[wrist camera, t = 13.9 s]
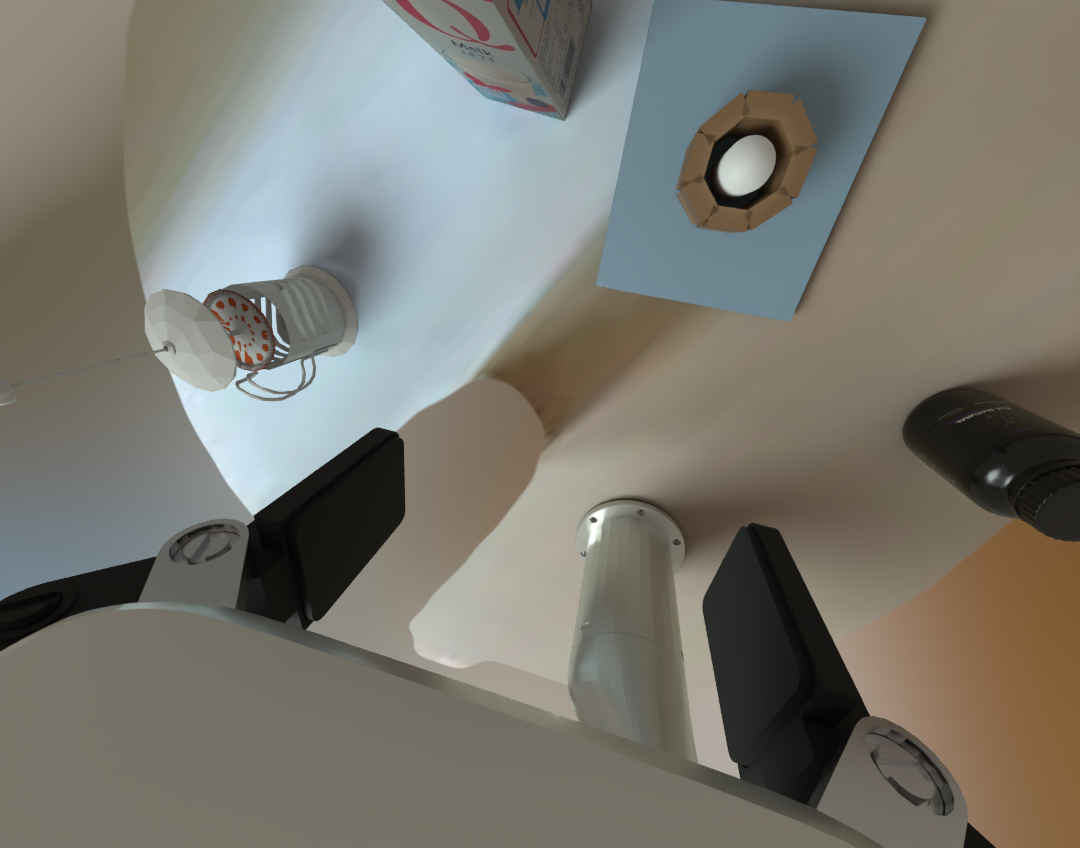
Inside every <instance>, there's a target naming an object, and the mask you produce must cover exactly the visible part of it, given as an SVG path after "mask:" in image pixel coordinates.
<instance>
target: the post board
mask: <svg viewBox="0 0 1080 848" xmlns="http://www.w3.org/2000/svg"><path fill="white" fill-rule="evenodd" d="M926 19H927V18H925V17H913V16H901V15H889V14H877V13H865V12H853V11H840V10H828V9H816V8H804V7H792V6H780V5H768V4H756V3H743V2H731V1H719V0H654V5H653V10H652V15H651V19H650V24H649V29H648V34H647V39H646V44H645V49H644V54H643V58H642V63H641V68H640V73H639V78H638V83H637V88H636V92H635V97H634V102H633V107H632V112H631V117H630V122H629V127H628V131H627V136H626V141H625V146H624V151H623V156H622V161H621V165H620V170H619V175H618V180H617V185H616V190H615V195H614V200H613V204H612V209H611V214H610V219H609V224H608V229H607V234H606V238H605V243H604V248H603V253H602V258H601V263H600V268H599V273H598V277H597V282H596V286H600V287H605V288H611V289H616V290H621V291H627V292H632V293H637V294H643V295H648V296H654V297H659V298H664V299H670V300H675V301H681V302H686V303H691V304H697V305H702V306H707V307H713V308H718V309H724V310H729V311H734V312H740V313H745V314H750V315H756V316H761V317H767V318H772V319H777V320H783V321H788V322H790V320H791V318H792V316H793V314H794V312H795V309H796V307H797V305H798V303H799V300H800V298H801V296H802V294H803V292H804V289H805V287H806V285H807V283H808V281H809V278H810V276H811V274H812V272H813V269H814V267H815V265H816V263H817V261H818V258H819V256H820V254H821V252H822V250H823V247H824V245H825V243H826V241H827V238H828V236H829V234H830V232H831V230H832V227H833V225H834V223H835V221H836V219H837V216H838V214H839V212H840V210H841V207H842V205H843V203H844V201H845V199H846V196H847V194H848V192H849V190H850V188H851V185H852V183H853V181H854V179H855V176H856V174H857V172H858V170H859V168H860V165H861V163H862V161H863V159H864V157H865V154H866V152H867V150H868V148H869V145H870V143H871V141H872V139H873V137H874V134H875V132H876V130H877V128H878V126H879V123H880V121H881V119H882V117H883V114H884V112H885V110H886V108H887V106H888V103H889V101H890V99H891V97H892V95H893V92H894V90H895V88H896V86H897V83H898V81H899V79H900V77H901V75H902V72H903V70H904V68H905V66H906V64H907V61H908V59H909V57H910V55H911V52H912V50H913V48H914V46H915V44H916V41H917V39H918V37H919V35H920V33H921V30H922V28H923V26H924V24H925V21H926ZM748 90H756V91H765V92H774V93H784V94H793V95H794V98H793V101H792V104H794V103H795V102H796V101H797V100H799V99H800V100H801V102H802V105H803V107H804V109H805V112H806V114H807V116H808V119H809V121H810V123H811V126H812V128H813V130H814V133H815V135H816V137H817V140H818V141H817V142H815V143H814V144H813V145H811V146H810V147H812V148H818V149H817V151H816V154H815V156H814V159H813V161H812V164H811V166H810V169H809V171H808V174H807V176H806V179H805V181H804V184H803V186H802V189H801V191H800V194H799V196H798V197H797V198H793V199H791V200H792V202H793V204H791V205H790V206H788V207H787V208H785V209H784V210H782V211H781V212H779V213H778V214H776V215H775V216H773V217H772V218H770V219H768V220H767V221H765V222H764V223H762V224H761V225H759V226H758V227H756V228H755V229H753V230H749V231H746V232H736V233H726V232H720V231H713V230H707V229H701V228H696V226H697V224H694V225H692V224H691V222H690V220H689V218H688V216H687V215H686V213H685V211H684V209H683V207H682V205H681V203H680V202H679V200H678V198H677V196H676V195H677V194H678V193H679V192H680V190H676V186H677V183H678V179H679V175H680V172H681V168H682V164H683V160H684V157H685V153H686V149H687V148H688V146H689V144H690V142H691V141H692V139H693V137H694V135H695V134H696V133H697V131H698V129H699V127H700V126H701V125H702V124H703V123H705V122H706V121H707V120H708V119H710V118H711V117H712V116H713V115H715V114H716V113H717V112H718V111H719V110H721V109H722V108H723V107H724V106H726V105H727V104H728V103H729V102H730V101H732V100H733V99H734V98H735V97H737V96H738V95H739V94H740V93H741V92H742V94H743V96H745V94H746V93H747V92H748ZM792 104H791V105H792ZM775 161H776V153H775V149H774V146H773V144H772V143H771V142H770V141H769V140H768V139H767V138H765V137H763V136H760V135H751V136H747V137H744V138H735V137H727V138H725V139H724V140H723V141H722V142H720V143H719V144H718V145H716V146H715V147H714V148H713V149H712V151H711V155H710V158H709V161H708V165H707V168H706V172H705V175H704V180H705V182H706V184H707V186H708V188H709V190H710V192H711V193H712V195H713V197H714V199H715V201H716V203H717V205H718V206H724V207H730V208H737V209H740V208H741V207H743V206H744V205H746V204H747V203H749V202H750V201H752V200H753V199H755V198H756V197H757V195H758V192H759V190H760V187H761V186H762V185H763V184H764V183H765V182H766V181H767V180H768V178H769V177H770V175H771V174H772V171H773V169H774V166H775Z"/></svg>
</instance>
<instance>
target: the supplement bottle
mask: <svg viewBox="0 0 1080 848" xmlns="http://www.w3.org/2000/svg"><path fill="white" fill-rule="evenodd" d="M903 439H904V442H905V444H906V446H907V447H908V448H909V450H910V451H911V452H913V453H914V454H915V455H916V456H917V457H918V458H919V459H921V460H922V461H923V462H924V463H926V464H927V465H928V466H929V467H931V468H932V469H933V470H934V471H936V472H937V473H938V474H939V475H940V476H942V477H943V478H944V479H945V480H947V481H948V482H949V483H950V484H952V485H953V486H954V487H955V488H957V489H958V490H959V491H960V492H961V493H963V494H964V495H965V496H966V497H968V498H969V499H970V500H971V501H973V502H974V503H975V504H977V505H978V506H980V507H981V508H983V509H984V510H986V511H989V512H991V513H993V514H997V515H1000V516H1004V517H1009V518H1016V519H1021V520H1022V521H1024V522H1026V523H1028V524H1030V525H1031V526H1032V527H1034V528H1035V529H1036V530H1038V531H1039V532H1041V533H1043V534H1044V535H1046V536H1048V537H1052V538H1054V539H1057V540H1063V541H1073V542H1077V541H1080V434H1078V433H1076V432H1074V431H1072V430H1070V429H1067V428H1065V427H1063V426H1061V425H1059V424H1056V423H1054V422H1052V421H1050V420H1048V419H1046V418H1043V417H1041V416H1039V415H1037V414H1035V413H1032V412H1030V411H1028V410H1026V409H1024V408H1021V407H1019V406H1017V405H1015V404H1013V403H1011V402H1008V401H1006V400H1004V399H1002V398H999V397H997V396H995V395H992V394H990V393H987V392H984V391H980V390H973V389H959V390H952V391H948V392H944V393H941V394H938V395H935V396H933V397H931V398H929V399H927V400H926V401H924V402H922V403H921V404H920V405H918V406H917V407H916V408H915V409H914V410H913V411H912V412H911V413H910V415H909V416H908V418H907V419H906V421H905V424H904V427H903Z"/></svg>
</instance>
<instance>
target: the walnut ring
mask: <svg viewBox="0 0 1080 848" xmlns="http://www.w3.org/2000/svg"><path fill="white" fill-rule="evenodd" d="M793 98H794V95H793V94H784V93H774V92H765V91H756V90H748V92H747V93H746V94H745V96H743V94H742V92H741V93H740V94H739V95H738V96H737V97H735V98H734V99H733V100H732V101H730V102H729V103H728V104H727V105H726V106H724V107H723V108H722V109H721V110H719V111H718V112H717V113H716V114H715V115H713V116H712V117H711V118H710V119H708V120H707V121H706V122H705V123H703V124H702V125H701V126H700V127H699V129H698V131H697V133H696V134H695V135H694V137H693V139H692V141H691V142H690V144H689V146H688V148H687V149H686V153H685V157H684V160H683V164H682V168H681V172H680V175H679V179H678V183H677V186H676V190H680V192H679V193H678V194H677V195H676V196H677V198H678V200H679V202H680V203H681V205H682V207H683V209H684V211H685V213H686V215H687V216H688V218H689V220H690V222H691V224H692V225H694V224H697V226H696V228H701V229H707V230H713V231H720V232H726V233H736V232H746V231H749V230H753V229H755V228H756V227H758V226H759V225H761V224H762V223H764V222H765V221H767V220H768V219H770V218H772V217H773V216H775V215H776V214H778V213H779V212H781V211H782V210H784V209H785V208H787V207H788V206H790V205H791V204H793V202H792V200H791V199H793V198H797V197H798V196H799V194H800V191H801V189H802V186H803V184H804V181H805V179H806V176H807V174H808V171H809V169H810V166H811V164H812V161H813V159H814V156H815V154H816V151H817V149H818V148H812V147H810V146H811V145H813V144H814V143H815V142H817V141H818V140H817V137H816V135H815V133H814V130H813V128H812V126H811V123H810V121H809V119H808V116H807V114H806V112H805V109H804V107H803V105H802V102H801V100H800V99H799V100H797V101H796V102H795V103H794V104H792V101H793ZM791 104H792V105H791ZM751 135H760V136H763V137H765V138H767V139H768V140H769V141H770V142H771V143H772V144H773V146H774V149H775V153H776V161H775V166H774V169H773V171H772V174H771V175H770V177H769V178H768V180H767V181H766V182H765V183H764V184H763V185H762V186H761V187H760V190H759V192H758V195H757V197H756V198H755V199H753V200H752V201H750V202H749V203H747V204H746V205H744V206H743V207H741V208H740V209H737V208H730V207H724V206H718V205H717V203H716V201H715V199H714V197H713V195H712V193H711V192H710V190H709V188H708V186H707V184H706V182H705V180H704V175H705V172H706V168H707V165H708V161H709V158H710V155H711V151H712V149H713V148H714V147H715V146H716V145H718V144H719V143H720V142H722V141H723V140H724V139H725V138H727V137H735V138H744V137H747V136H751Z"/></svg>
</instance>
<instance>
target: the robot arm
mask: <svg viewBox="0 0 1080 848" xmlns="http://www.w3.org/2000/svg"><path fill="white" fill-rule="evenodd" d="M404 480H405V478H404V442H403V440H402V439H401V438H399V435H398V433H397V432H394V431H390V430H386V429H382V428H375V429H373V430H371V431H370V432H369V433H367V434H366V435H365V436H363V437H362V438H360V439H359V440H358V441H356V442H355V443H354V444H352V445H351V446H349V447H348V448H347V449H345V450H344V451H342V452H341V453H340V454H338V455H337V456H336V457H334V458H333V459H331V460H330V461H329V462H327V463H326V464H325V465H323V466H322V467H320V468H319V469H318V470H316V471H315V472H313V473H312V474H311V475H309V476H308V477H307V478H305V479H304V480H302V481H301V482H300V483H298V484H297V485H296V486H294V487H293V488H291V489H290V490H289V491H287V492H286V493H284V494H283V495H282V496H280V497H279V498H278V499H276V500H275V501H273V502H272V503H271V504H269V505H268V506H267V507H265V508H264V509H262V510H261V511H260V512H258V513H257V514H255V515H254V519H255V520H254V521H253V522H252V523H250V524H249V525H247V526H246V525H245V524H244V523H242V522H240V521H237V520H233V519H216V520H210V521H206V522H202V523H198V524H196V525H193V526H191V527H189V528H186V529H184V530H182V531H181V532H179V533H177V534H176V535H174V536H173V537H172V538H170V539H169V540H168V541H167V542H166V543H165V544H164V545H163V547H162V548H161V550H160V551H159V553H158V555H157V557H152V558H148V559H144V560H140V561H135V562H131V563H127V564H123V565H118V566H114V567H110V568H106V569H102V570H97V571H93V572H89V573H84V574H80V575H76V576H72V577H68V578H64V579H59V580H55V581H51V582H46V583H43V584H40V585H36V586H33V587H30V588H27V589H25V590H23V591H20V592H18V593H15V594H13V595H11V596H8V597H7V598H5V599H3V600H1V601H0V848H996V847H994V846H993V845H992V844H991V843H990V842H989V841H988V840H987V839H986V838H984V836H982V835H981V834H980V833H979V832H978V831H977V830H976V829H975V828H974V827H972V826H971V825H970V824H969V823H968V813H967V804H966V801H965V799H964V796H963V794H962V792H961V789H960V787H959V785H958V784H957V782H956V781H955V779H954V778H953V776H952V775H951V773H950V772H949V770H948V769H947V768H946V766H945V765H944V764H943V763H942V762H941V761H940V760H939V759H938V757H937V756H936V755H935V754H934V753H933V752H932V751H931V750H930V749H929V748H928V747H927V746H925V744H923V743H922V742H921V741H920V740H919V739H918V738H917V737H915V736H914V735H912V734H911V733H909V732H908V731H907V730H905V729H904V728H902V727H901V726H899V725H897V724H895V723H893V722H891V721H888V720H886V719H883V718H878V717H874V716H870V715H869V713H868V711H867V709H866V707H865V705H864V703H863V701H862V699H861V696H860V694H859V692H858V690H857V688H856V686H855V684H854V682H853V680H852V678H851V676H850V674H849V672H848V670H847V668H846V666H845V664H844V662H843V660H842V658H841V656H840V654H839V652H838V650H837V648H836V646H835V643H834V641H833V639H832V637H831V635H830V633H829V631H828V629H827V627H826V625H825V623H824V621H823V619H822V617H821V615H820V613H819V611H818V609H817V607H816V605H815V603H814V601H813V599H812V597H811V595H810V593H809V591H808V589H807V587H806V585H805V583H804V581H803V579H802V576H801V574H800V572H799V570H798V568H797V566H796V564H795V562H794V560H793V558H792V556H791V554H790V552H789V550H788V548H787V546H786V544H785V542H784V540H783V538H782V536H781V534H780V532H779V531H778V530H777V529H775V528H771V527H767V526H763V525H759V524H755V523H751V524H749V525H748V527H741V528H740V529H739V531H738V533H737V535H736V537H735V538H734V540H733V542H732V544H731V546H730V548H729V550H728V552H727V554H726V556H725V558H724V559H723V561H722V563H721V565H720V567H719V569H718V571H717V573H716V575H715V577H714V579H713V581H712V582H711V584H710V586H709V588H708V590H707V592H706V594H705V596H704V599H703V614H704V620H705V625H706V631H707V637H708V642H709V648H710V653H711V659H712V664H713V670H714V675H715V681H716V686H717V692H718V697H719V703H720V708H721V714H722V719H723V724H724V730H725V735H726V741H727V746H728V751H729V755H730V758H731V760H732V761H733V762H736V763H738V769H739V774H740V779H738V778H736V777H733V776H730V775H728V774H725V773H722V772H719V771H717V770H714V769H711V768H708V767H705V766H703V765H700V764H698V760H697V755H696V749H695V743H694V737H693V732H692V724H691V717H690V710H689V702H688V694H687V685H686V677H685V669H684V659H683V651H682V642H681V634H680V625H679V617H678V608H677V599H676V590H675V581H674V573H675V572H676V571H677V570H678V569H679V568H680V566H681V564H682V563H683V559H684V556H685V543H684V538H683V535H682V532H681V530H680V528H679V527H678V525H677V524H676V522H675V521H674V520H673V519H672V518H671V517H670V516H669V515H668V514H666V513H665V512H663V511H662V510H661V509H659V508H656V507H654V506H652V505H650V504H646V503H643V502H639V501H632V500H617V501H611V502H607V503H604V504H601V505H599V506H597V507H595V508H593V509H592V510H590V511H589V512H588V513H587V514H586V515H585V516H584V517H583V519H582V520H581V522H580V524H579V526H578V529H577V534H576V548H577V552H578V554H579V556H580V558H581V560H582V562H583V563H584V564H585V566H584V573H583V579H582V586H581V592H580V598H579V605H578V611H577V618H576V624H575V631H574V637H573V643H572V650H571V656H570V662H569V669H568V689H569V695H570V700H571V703H572V706H573V709H574V712H575V714H576V716H577V718H578V721H579V722H577V721H574V720H572V719H569V718H566V717H563V716H560V715H557V714H554V713H551V712H548V711H545V710H542V709H539V708H536V707H534V706H531V705H528V704H525V703H522V702H519V701H516V700H513V699H510V698H507V697H504V696H501V695H499V694H496V693H493V692H490V691H487V690H484V689H481V688H477V687H475V686H472V685H469V684H466V683H463V682H460V681H457V680H454V679H451V678H448V677H446V676H442V675H440V674H436V673H434V672H431V671H428V670H425V669H422V668H419V667H416V666H413V665H410V664H407V663H404V662H401V661H397V660H395V659H392V658H389V657H386V656H383V655H380V654H377V653H374V652H371V651H368V650H365V649H362V648H359V647H356V646H353V645H350V644H347V643H344V642H341V641H338V640H335V639H332V638H329V637H326V636H323V635H320V634H317V633H314V632H311V631H307V630H306V629H307V628H308V627H309V625H310V624H311V623H312V622H313V621H318V620H320V619H321V618H322V617H323V616H324V615H325V614H326V613H327V612H328V610H329V609H330V608H331V607H332V606H333V604H334V603H335V602H336V601H337V599H338V598H339V597H340V596H341V595H342V593H343V592H344V591H345V590H346V589H347V587H348V586H349V585H350V584H351V583H352V581H353V580H354V579H355V578H356V577H357V575H358V574H359V573H360V572H361V571H362V569H363V568H364V567H365V566H366V564H367V563H368V562H369V561H370V560H371V558H372V557H373V556H374V555H375V554H376V552H377V551H378V550H379V549H380V548H381V546H382V545H383V544H384V543H385V541H386V540H387V539H388V538H389V537H390V535H391V534H392V533H393V532H394V531H395V529H396V528H397V527H398V526H399V525H400V523H401V522H402V520H403V518H404V515H405V481H404Z"/></svg>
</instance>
